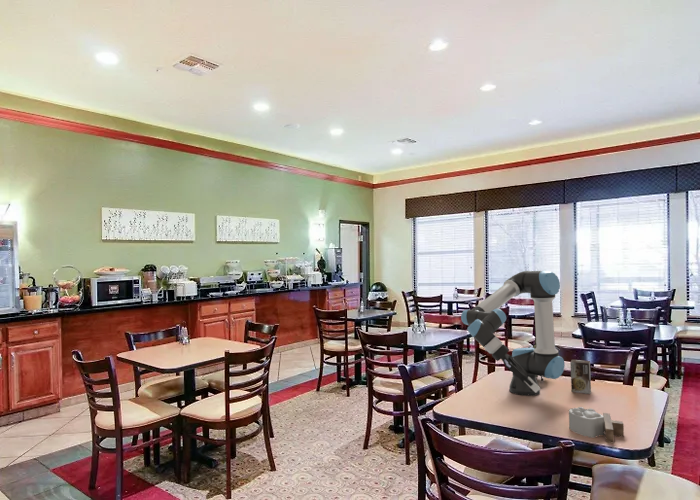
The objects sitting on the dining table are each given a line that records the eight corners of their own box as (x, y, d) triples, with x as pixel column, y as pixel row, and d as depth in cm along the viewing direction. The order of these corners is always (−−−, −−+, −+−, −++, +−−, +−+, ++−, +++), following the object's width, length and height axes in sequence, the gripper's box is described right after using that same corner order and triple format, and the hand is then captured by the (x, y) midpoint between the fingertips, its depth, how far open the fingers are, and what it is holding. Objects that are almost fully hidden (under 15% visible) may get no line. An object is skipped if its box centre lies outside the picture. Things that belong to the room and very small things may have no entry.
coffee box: (591, 391, 239) (590, 360, 239) (590, 394, 233) (589, 363, 234) (572, 388, 243) (571, 359, 244) (570, 391, 238) (570, 361, 238)
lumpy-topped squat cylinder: (589, 438, 176) (589, 416, 176) (562, 427, 188) (561, 406, 188) (608, 434, 180) (607, 412, 180) (580, 423, 192) (580, 403, 192)
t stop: (606, 441, 172) (605, 428, 172) (603, 424, 190) (603, 412, 190) (625, 444, 169) (625, 431, 169) (621, 427, 187) (620, 415, 187)
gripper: (493, 351, 208) (532, 391, 201) (488, 357, 197) (530, 400, 189) (504, 341, 206) (545, 381, 198) (500, 346, 194) (543, 389, 187)
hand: (538, 390), depth 194 cm, fingers closed
